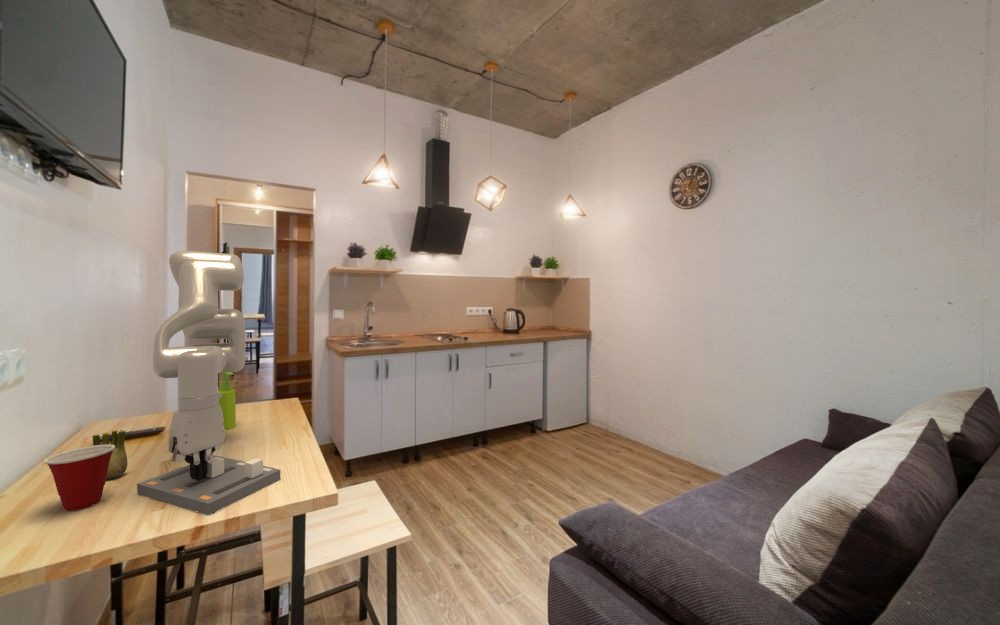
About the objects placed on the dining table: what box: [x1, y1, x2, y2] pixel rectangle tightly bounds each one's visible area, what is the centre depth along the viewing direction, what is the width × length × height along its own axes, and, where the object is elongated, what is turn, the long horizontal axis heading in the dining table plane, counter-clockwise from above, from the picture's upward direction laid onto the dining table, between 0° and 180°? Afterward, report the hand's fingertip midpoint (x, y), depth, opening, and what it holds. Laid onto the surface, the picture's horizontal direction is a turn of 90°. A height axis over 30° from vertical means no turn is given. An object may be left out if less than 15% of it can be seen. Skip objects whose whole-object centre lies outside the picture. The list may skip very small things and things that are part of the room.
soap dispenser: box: [219, 372, 237, 431], centre depth 138 cm, size 6×7×20 cm
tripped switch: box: [207, 458, 224, 478], centre depth 97 cm, size 2×3×4 cm
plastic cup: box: [43, 444, 115, 512], centre depth 87 cm, size 11×11×12 cm
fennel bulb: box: [92, 429, 128, 481], centre depth 100 cm, size 6×5×12 cm
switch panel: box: [136, 454, 281, 516], centre depth 97 cm, size 24×18×3 cm
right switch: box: [244, 457, 264, 478], centre depth 97 cm, size 2×3×4 cm
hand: (198, 478), depth 94 cm, fingers closed
